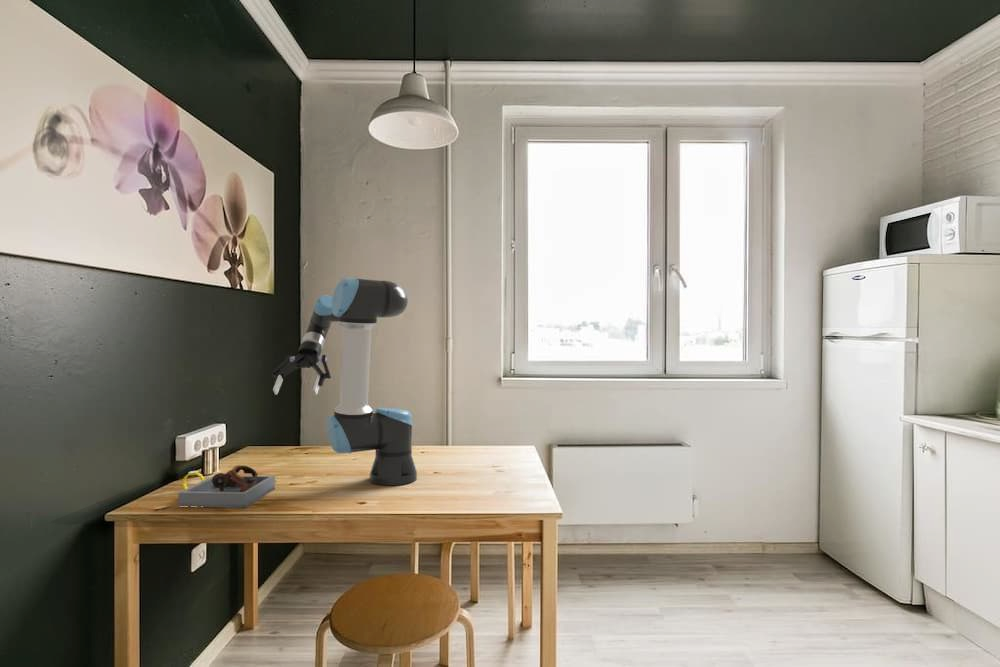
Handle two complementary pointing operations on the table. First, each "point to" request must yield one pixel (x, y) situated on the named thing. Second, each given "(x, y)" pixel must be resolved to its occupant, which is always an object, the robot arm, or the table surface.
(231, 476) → the broken clay jug
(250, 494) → the tray
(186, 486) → the watch
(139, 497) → the table surface
